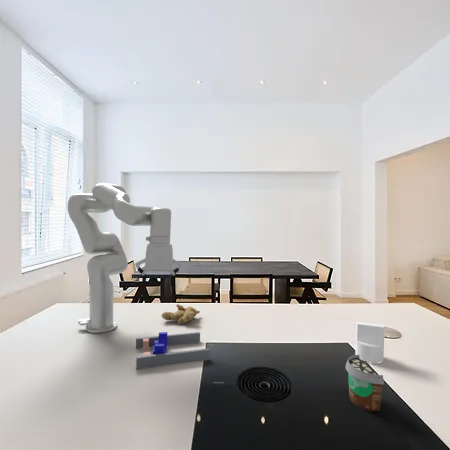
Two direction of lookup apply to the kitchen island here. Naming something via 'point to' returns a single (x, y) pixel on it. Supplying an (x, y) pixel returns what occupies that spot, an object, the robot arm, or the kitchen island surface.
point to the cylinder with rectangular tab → (370, 342)
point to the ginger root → (181, 314)
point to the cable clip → (160, 344)
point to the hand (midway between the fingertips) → (157, 285)
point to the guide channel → (172, 357)
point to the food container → (364, 384)
